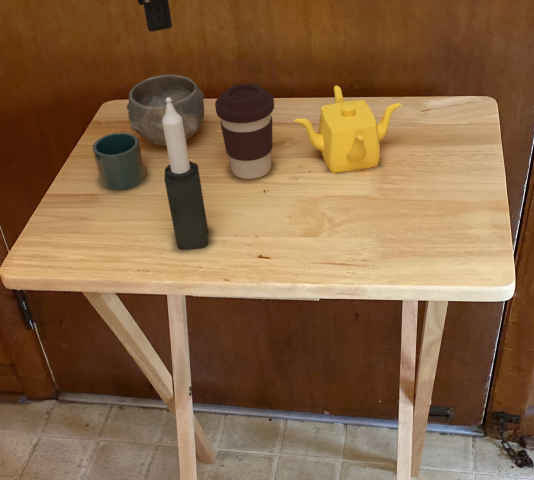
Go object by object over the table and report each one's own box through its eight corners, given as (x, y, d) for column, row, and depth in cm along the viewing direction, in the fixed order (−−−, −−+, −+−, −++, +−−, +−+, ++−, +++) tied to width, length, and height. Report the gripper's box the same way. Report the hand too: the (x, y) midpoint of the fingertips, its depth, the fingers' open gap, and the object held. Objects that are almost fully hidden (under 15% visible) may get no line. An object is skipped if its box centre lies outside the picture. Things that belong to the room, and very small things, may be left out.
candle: (177, 231, 134) (151, 91, 117) (208, 228, 134) (186, 87, 117) (176, 250, 130) (149, 108, 113) (208, 247, 130) (185, 104, 113)
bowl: (126, 157, 152) (115, 109, 146) (146, 116, 164) (136, 69, 157) (199, 158, 150) (191, 108, 144) (214, 116, 161) (207, 68, 155)
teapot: (362, 185, 140) (362, 135, 133) (294, 164, 146) (291, 115, 140) (403, 145, 148) (405, 96, 141) (336, 128, 155) (335, 80, 148)
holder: (109, 195, 143) (100, 161, 139) (95, 174, 149) (87, 140, 144) (151, 181, 146) (144, 147, 141) (137, 161, 151) (129, 128, 146)
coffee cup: (268, 149, 151) (262, 73, 140) (286, 176, 144) (281, 98, 133) (217, 162, 149) (207, 86, 139) (233, 189, 142) (223, 111, 132)
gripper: (93, -134, 106) (120, -2, 117) (108, -99, 93) (136, 45, 105) (150, -143, 107) (171, -11, 118) (172, -109, 94) (193, 35, 106)
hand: (154, 15), depth 112 cm, fingers open, 9 cm apart
